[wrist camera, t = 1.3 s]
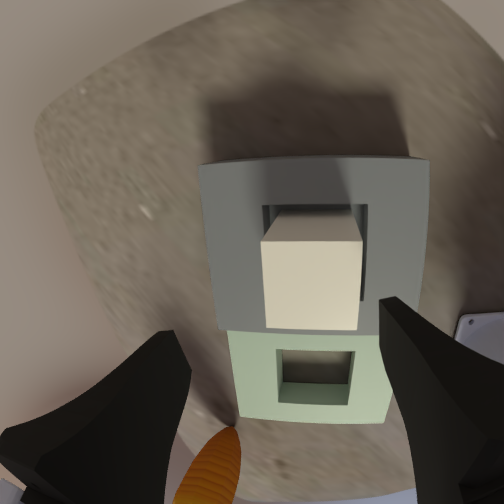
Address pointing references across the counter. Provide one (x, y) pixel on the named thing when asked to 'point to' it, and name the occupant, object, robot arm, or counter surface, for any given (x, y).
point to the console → (372, 274)
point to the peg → (312, 270)
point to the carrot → (213, 472)
